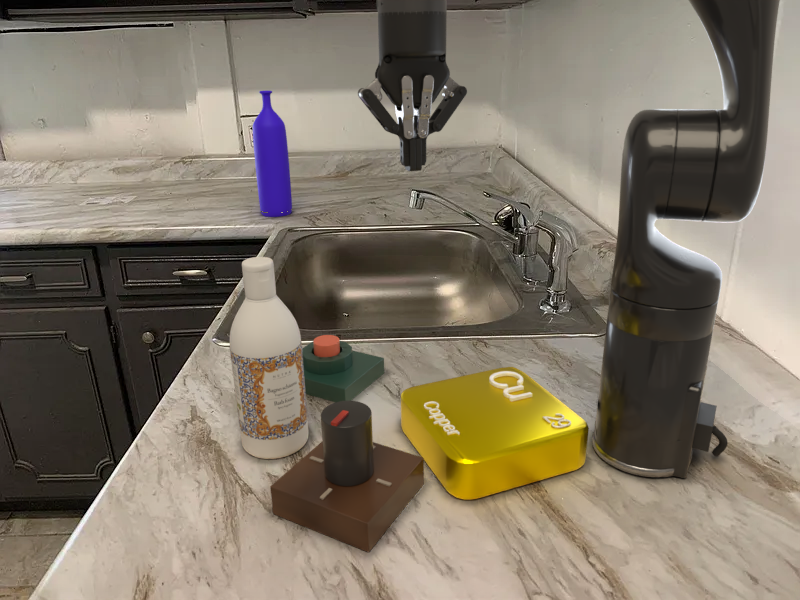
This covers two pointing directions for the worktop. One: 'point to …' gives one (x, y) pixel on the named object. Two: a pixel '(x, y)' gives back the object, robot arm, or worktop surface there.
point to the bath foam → (267, 367)
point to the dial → (347, 442)
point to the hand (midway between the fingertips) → (413, 169)
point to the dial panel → (349, 496)
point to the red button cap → (326, 346)
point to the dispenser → (339, 373)
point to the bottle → (271, 161)
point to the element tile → (492, 431)
